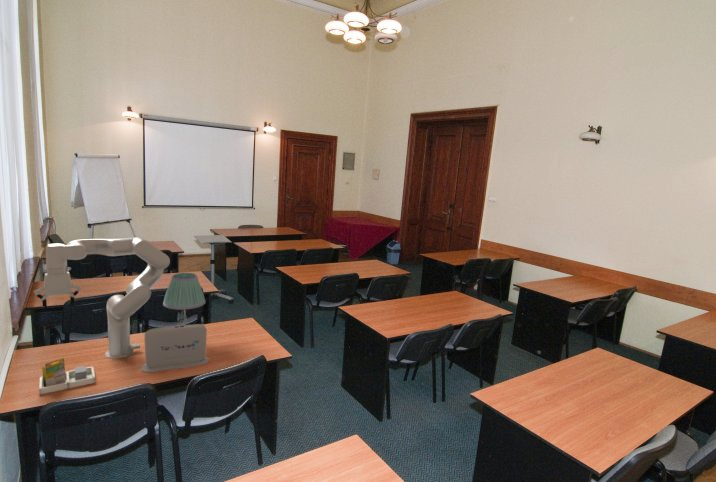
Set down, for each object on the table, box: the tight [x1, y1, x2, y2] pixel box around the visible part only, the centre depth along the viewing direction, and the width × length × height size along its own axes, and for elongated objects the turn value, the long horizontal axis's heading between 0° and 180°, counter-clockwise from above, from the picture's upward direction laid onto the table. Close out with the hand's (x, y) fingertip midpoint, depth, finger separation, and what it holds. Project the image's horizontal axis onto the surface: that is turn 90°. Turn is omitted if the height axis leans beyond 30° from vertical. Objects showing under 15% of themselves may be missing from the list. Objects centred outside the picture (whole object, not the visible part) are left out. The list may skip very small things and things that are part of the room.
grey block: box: [74, 365, 87, 381], centre depth 176 cm, size 4×6×5 cm, turn 37°
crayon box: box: [41, 357, 66, 387], centre depth 170 cm, size 7×3×12 cm, turn 150°
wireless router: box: [140, 323, 210, 373], centre depth 197 cm, size 31×10×20 cm, turn 117°
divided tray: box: [38, 365, 96, 395], centre depth 174 cm, size 19×12×3 cm, turn 127°
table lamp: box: [162, 272, 207, 325], centre depth 217 cm, size 22×22×40 cm
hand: (58, 306), depth 183 cm, fingers open, 9 cm apart
